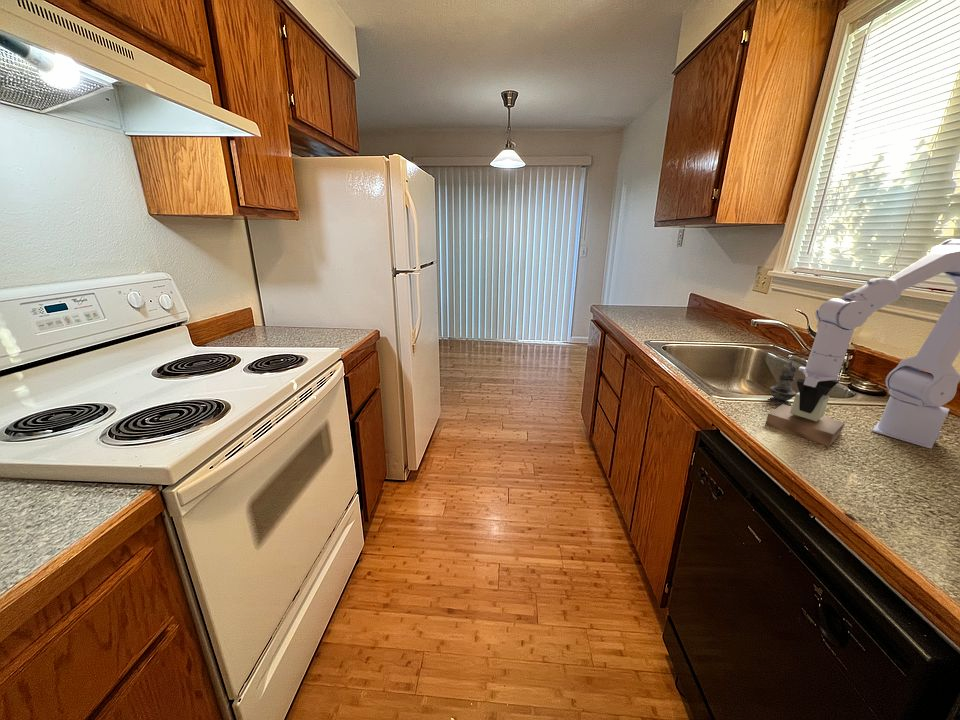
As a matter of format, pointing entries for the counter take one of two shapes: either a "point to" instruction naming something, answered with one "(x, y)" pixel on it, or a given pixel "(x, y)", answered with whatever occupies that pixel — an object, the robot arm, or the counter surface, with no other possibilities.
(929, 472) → the counter surface
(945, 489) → the counter surface
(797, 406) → the sage block
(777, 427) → the walnut block
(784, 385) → the grey stone chess piece
